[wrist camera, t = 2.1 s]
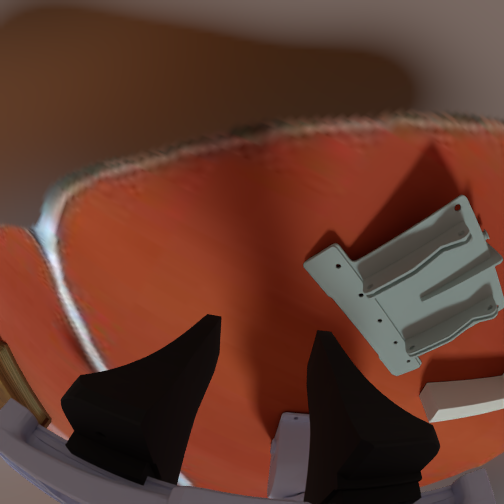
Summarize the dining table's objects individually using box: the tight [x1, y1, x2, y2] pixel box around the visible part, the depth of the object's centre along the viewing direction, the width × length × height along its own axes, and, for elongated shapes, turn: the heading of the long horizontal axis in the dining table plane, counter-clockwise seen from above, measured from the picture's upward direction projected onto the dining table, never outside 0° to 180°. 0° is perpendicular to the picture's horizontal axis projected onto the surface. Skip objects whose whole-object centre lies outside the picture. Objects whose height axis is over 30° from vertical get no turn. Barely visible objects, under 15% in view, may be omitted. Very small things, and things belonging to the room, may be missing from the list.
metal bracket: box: [304, 195, 504, 376], centre depth 19 cm, size 14×6×15 cm
